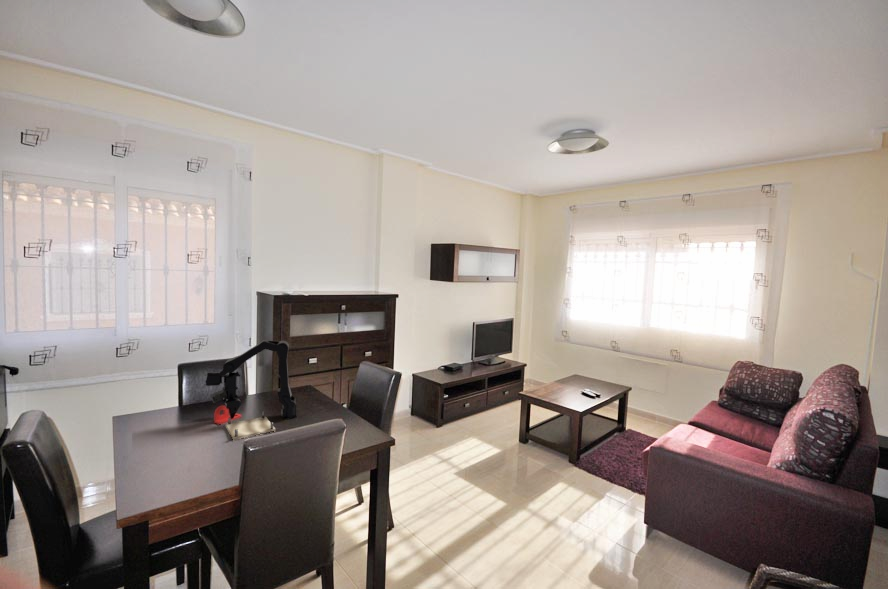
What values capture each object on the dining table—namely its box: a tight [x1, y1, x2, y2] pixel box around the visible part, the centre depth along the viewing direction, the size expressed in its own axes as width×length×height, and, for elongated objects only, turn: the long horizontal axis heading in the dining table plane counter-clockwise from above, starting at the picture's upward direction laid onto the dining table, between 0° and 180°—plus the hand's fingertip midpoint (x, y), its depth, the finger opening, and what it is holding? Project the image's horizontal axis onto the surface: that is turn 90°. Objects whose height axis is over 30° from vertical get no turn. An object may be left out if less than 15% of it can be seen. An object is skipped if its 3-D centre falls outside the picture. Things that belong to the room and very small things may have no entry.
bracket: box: [213, 404, 242, 425], centre depth 198 cm, size 12×4×8 cm, turn 154°
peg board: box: [225, 411, 276, 441], centre depth 189 cm, size 18×18×4 cm
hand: (230, 415), depth 197 cm, fingers open, 9 cm apart
